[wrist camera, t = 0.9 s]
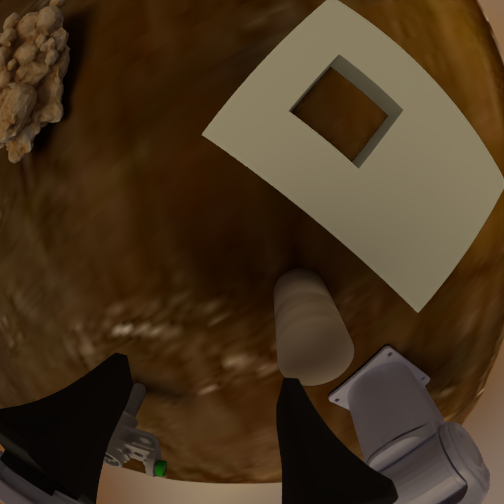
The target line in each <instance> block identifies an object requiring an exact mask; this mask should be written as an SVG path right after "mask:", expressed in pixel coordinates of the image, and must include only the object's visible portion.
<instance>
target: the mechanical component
mask: <svg viewBox="0 0 504 504" xmlns="http://www.w3.org/2000/svg"><path fill="white" fill-rule="evenodd" d="M145 395H146V387H145V386H144V385H143V384H141V383H135V385H134V386H133V388H132V391H131V394H130V397H129V400H128V403H127V405H126V407H125V409H124V411H123V414H122V416H121V418H120V420H119V422H118V424H117V426H116V428H115V430H114V432H113V434H112V437H111V439H110V442H109V444H108V448H107V451H106V454H105V458H104V461H103V462H104V463H106V464H108V465H110V466H113V467H117V468H120V467H122V465H123V463H124V462H126V463H127V460H128V461H130V457H131V458H134V459H137V460H140V461H143V463H144V465H145V466H146V468H145V470H146V474H147V475H150V476H153V477H155V476H156V475H158V476H162V477H164V476H165V473H166V469H167V461H163V460H161V459H162V455H161V450H160V444H159V440H158V438H157V437H156V436H155V435H153V434H151V433H148V432H145V431H142V430H139V429H136V428H135V427H136V426H137V425H138V421H137V420H136V418H135V416H136V414H137V412H138V410H139V408H140V406H141V404H142V402H143V399H144V397H145ZM132 443H133V444H132ZM134 444H136V445H134ZM137 445H139V446H137ZM140 446H142V447H140ZM144 447H146V448H144ZM147 448H149V449H147ZM150 449H152V450H150ZM137 452H138V453H140V454H138V453H137ZM141 454H142V455H141Z"/></svg>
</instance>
